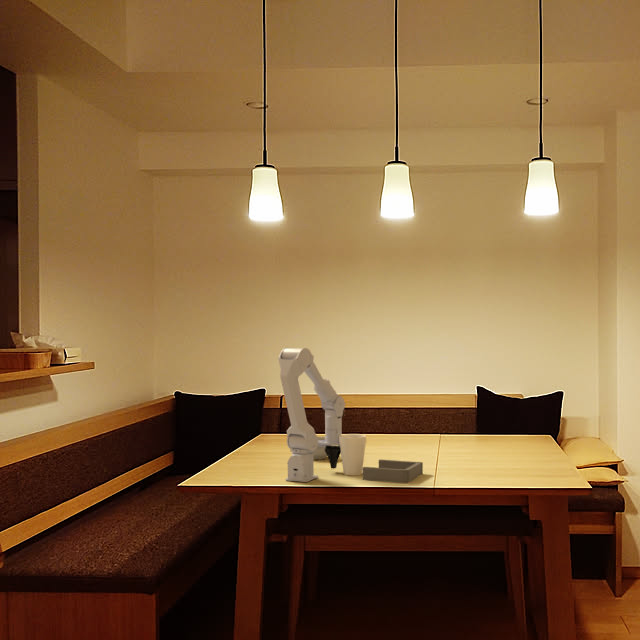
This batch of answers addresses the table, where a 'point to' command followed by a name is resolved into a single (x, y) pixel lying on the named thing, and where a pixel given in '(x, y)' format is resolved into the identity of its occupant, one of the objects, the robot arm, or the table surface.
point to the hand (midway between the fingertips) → (333, 468)
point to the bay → (394, 471)
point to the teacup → (320, 451)
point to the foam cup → (352, 453)
